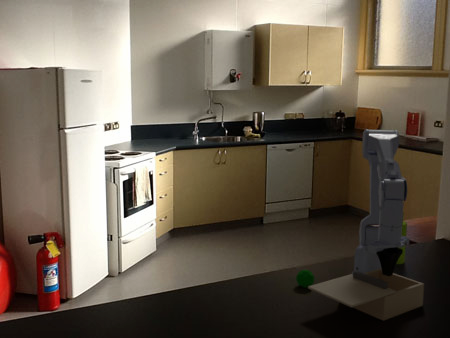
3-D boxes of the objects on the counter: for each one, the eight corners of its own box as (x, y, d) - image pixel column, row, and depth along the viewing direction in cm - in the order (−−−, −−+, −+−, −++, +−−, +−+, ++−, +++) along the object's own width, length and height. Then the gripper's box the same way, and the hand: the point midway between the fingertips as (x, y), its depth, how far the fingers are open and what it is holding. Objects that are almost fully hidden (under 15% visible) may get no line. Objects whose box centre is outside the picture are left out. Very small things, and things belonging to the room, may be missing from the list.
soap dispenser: (404, 258, 177) (408, 199, 174) (404, 265, 171) (408, 204, 168) (386, 256, 179) (389, 198, 176) (385, 262, 173) (389, 202, 170)
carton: (339, 301, 141) (340, 279, 140) (378, 289, 150) (379, 268, 149) (383, 320, 130) (384, 297, 129) (422, 305, 139) (424, 283, 138)
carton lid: (307, 288, 133) (308, 280, 133) (351, 275, 142) (351, 268, 142) (351, 307, 122) (352, 298, 121) (395, 292, 131) (395, 284, 131)
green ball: (316, 289, 149) (316, 273, 148) (299, 290, 148) (299, 274, 148) (310, 283, 154) (311, 267, 153) (294, 283, 153) (294, 267, 153)
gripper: (385, 232, 130) (382, 285, 133) (420, 224, 139) (417, 274, 141) (362, 226, 136) (359, 276, 138) (397, 218, 145) (394, 266, 147)
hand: (387, 275), depth 140 cm, fingers closed
